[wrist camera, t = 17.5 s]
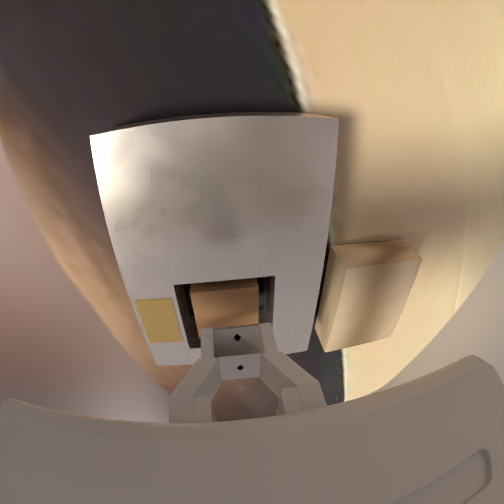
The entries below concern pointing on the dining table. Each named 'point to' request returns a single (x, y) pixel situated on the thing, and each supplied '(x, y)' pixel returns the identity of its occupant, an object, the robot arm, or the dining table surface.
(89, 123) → the dining table surface
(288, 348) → the plate
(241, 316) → the walnut block
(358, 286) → the beige rectangular block
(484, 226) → the dining table surface
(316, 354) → the dining table surface
